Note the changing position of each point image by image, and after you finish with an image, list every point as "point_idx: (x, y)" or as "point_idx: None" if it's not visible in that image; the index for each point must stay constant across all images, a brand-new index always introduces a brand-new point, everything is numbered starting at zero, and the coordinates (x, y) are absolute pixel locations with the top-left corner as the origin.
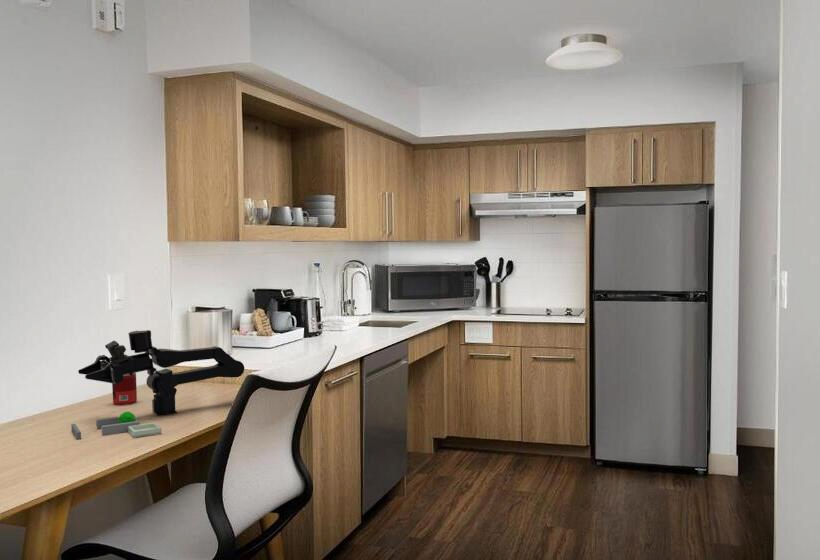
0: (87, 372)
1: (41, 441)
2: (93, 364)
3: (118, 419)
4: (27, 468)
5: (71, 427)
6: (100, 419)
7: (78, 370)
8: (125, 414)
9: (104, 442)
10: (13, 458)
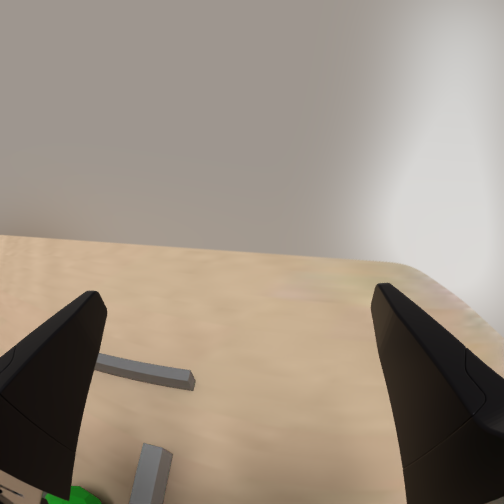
0: (393, 376)
1: (143, 296)
2: (465, 405)
3: (81, 488)
4: (28, 254)
5: (192, 375)
6: (149, 458)
7: (384, 283)
8: (49, 496)
9: None
10: (82, 247)
